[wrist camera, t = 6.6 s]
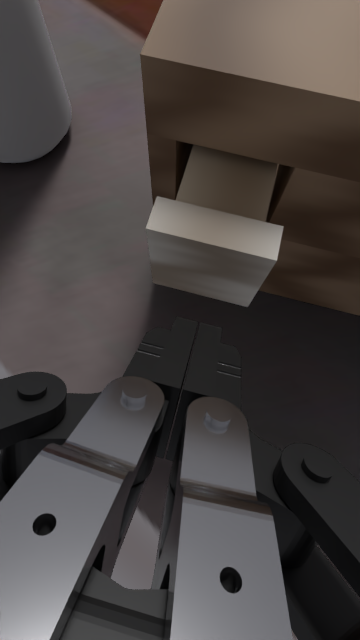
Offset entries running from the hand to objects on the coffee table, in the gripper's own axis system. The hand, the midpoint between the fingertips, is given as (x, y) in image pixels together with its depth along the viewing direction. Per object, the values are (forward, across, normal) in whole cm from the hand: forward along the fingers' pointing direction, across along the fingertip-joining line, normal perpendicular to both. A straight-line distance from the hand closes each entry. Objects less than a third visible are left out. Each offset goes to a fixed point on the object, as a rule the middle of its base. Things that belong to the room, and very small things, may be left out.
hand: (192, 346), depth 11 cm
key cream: (+7, 0, -4) cm, 8 cm away
